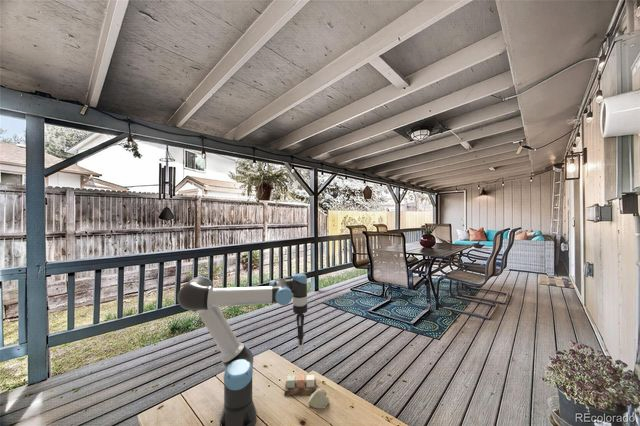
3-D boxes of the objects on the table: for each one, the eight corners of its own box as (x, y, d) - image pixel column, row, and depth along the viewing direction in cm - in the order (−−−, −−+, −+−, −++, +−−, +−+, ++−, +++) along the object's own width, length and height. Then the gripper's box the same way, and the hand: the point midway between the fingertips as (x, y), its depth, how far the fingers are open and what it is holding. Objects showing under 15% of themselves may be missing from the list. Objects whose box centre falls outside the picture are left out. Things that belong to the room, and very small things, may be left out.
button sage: (286, 387, 123) (286, 380, 123) (287, 382, 127) (287, 375, 127) (294, 387, 123) (294, 380, 123) (295, 382, 127) (295, 375, 127)
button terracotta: (296, 387, 123) (296, 380, 123) (297, 382, 127) (297, 375, 127) (304, 387, 123) (304, 380, 123) (304, 382, 127) (304, 375, 127)
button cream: (306, 387, 123) (306, 379, 123) (306, 382, 127) (306, 375, 127) (314, 386, 123) (314, 379, 123) (314, 381, 127) (314, 374, 127)
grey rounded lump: (333, 401, 113) (320, 398, 109) (322, 414, 114) (309, 412, 110) (327, 384, 120) (315, 381, 116) (317, 397, 121) (305, 394, 117)
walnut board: (284, 395, 121) (284, 390, 121) (286, 384, 129) (286, 380, 129) (316, 393, 121) (316, 389, 121) (316, 383, 129) (316, 379, 129)
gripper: (307, 308, 120) (307, 356, 119) (307, 299, 133) (308, 343, 132) (291, 308, 120) (292, 357, 119) (293, 300, 133) (294, 344, 132)
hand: (300, 350), depth 126 cm, fingers closed
